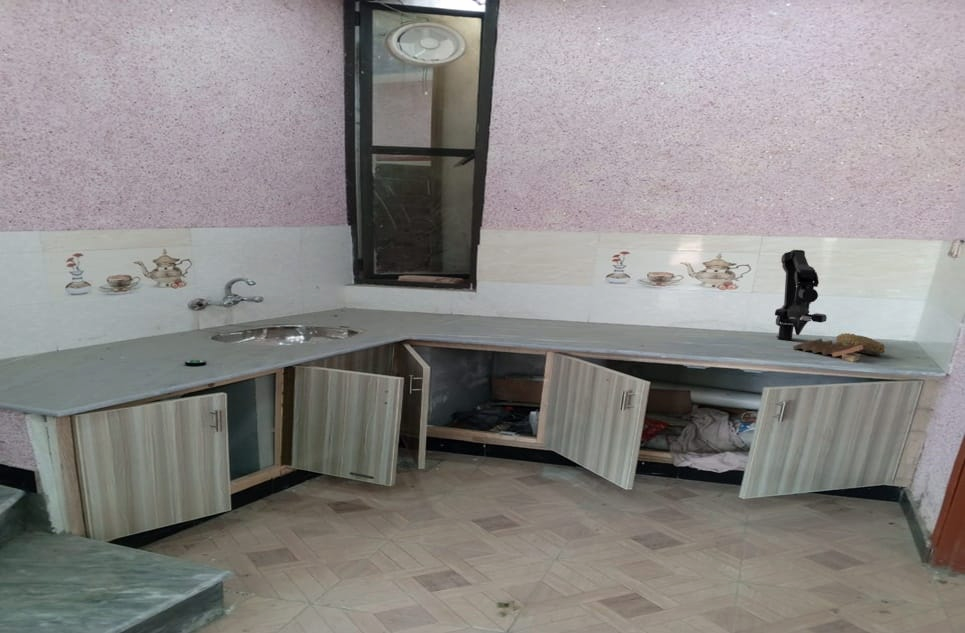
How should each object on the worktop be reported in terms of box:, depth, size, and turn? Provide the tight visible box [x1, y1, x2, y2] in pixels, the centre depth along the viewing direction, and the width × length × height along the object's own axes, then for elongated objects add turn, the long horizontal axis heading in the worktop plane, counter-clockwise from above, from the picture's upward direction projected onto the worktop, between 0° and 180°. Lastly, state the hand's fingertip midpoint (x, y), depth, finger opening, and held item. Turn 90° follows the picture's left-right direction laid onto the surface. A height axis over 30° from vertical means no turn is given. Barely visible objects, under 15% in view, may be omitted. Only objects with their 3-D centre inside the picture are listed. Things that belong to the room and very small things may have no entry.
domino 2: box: [801, 340, 834, 352], centre depth 243 cm, size 2×5×10 cm
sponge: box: [835, 333, 885, 355], centre depth 248 cm, size 13×8×20 cm
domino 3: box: [811, 342, 843, 354], centre depth 241 cm, size 2×5×10 cm
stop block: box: [841, 352, 861, 363], centre depth 235 cm, size 4×8×2 cm, turn 131°
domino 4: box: [821, 343, 853, 356], centre depth 238 cm, size 2×5×10 cm
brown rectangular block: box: [792, 338, 824, 351], centre depth 246 cm, size 2×5×10 cm
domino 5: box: [831, 345, 864, 358], centre depth 235 cm, size 2×5×10 cm
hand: (797, 335), depth 249 cm, fingers closed
